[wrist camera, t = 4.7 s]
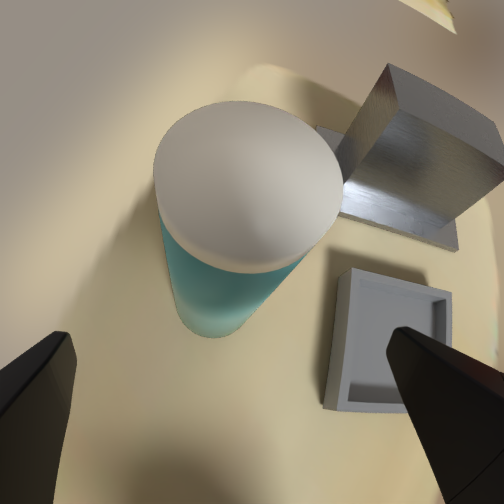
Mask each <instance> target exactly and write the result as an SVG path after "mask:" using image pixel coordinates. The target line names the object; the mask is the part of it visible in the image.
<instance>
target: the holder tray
mask: <svg viewBox="0 0 504 504" xmlns="http://www.w3.org/2000/svg"><path fill="white" fill-rule="evenodd" d="M402 326H408V327H410V328H413V329H415V330H417V331H419V332H421V333H423V334H425V335H427V336H429V337H431V338H433V339H435V340H437V341H439V342H441V343H443V344H445V345H447V346H449V347H451V348H452V292H448V291H445V290H441V289H437V288H433V287H429V286H425V285H421V284H417V283H413V282H409V281H405V280H401V279H397V278H393V277H389V276H385V275H380V274H376V273H372V272H368V271H364V270H360V269H356V268H351V269H349V270H348V271H347V272H345V273H344V274H343V275H341V276H340V277H339V279H338V291H337V302H336V312H335V322H334V331H333V339H332V347H331V355H330V363H329V370H328V377H327V384H326V391H325V397H324V403H323V409H328V410H334V411H345V412H365V413H408V412H407V410H406V408H405V406H404V403H403V401H402V399H401V396H400V394H399V391H398V388H397V385H396V382H395V379H394V377H393V374H392V371H391V368H390V365H389V363H388V360H387V357H386V348H387V345H388V343H389V340H390V338H391V335H392V332H393V330H394V329H395V328H397V327H402Z"/></svg>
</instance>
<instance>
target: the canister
mask: <svg viewBox="0 0 504 504" xmlns="http://www.w3.org/2000/svg"><path fill="white" fill-rule="evenodd" d="M153 176H154V183H155V190H156V197H157V204H158V211H159V217H160V223H161V229H162V235H163V241H164V247H165V252H166V258H167V263H168V268H169V274H170V279H171V284H172V289H173V293H174V298H175V303H176V308H177V312H178V314H179V317H180V319H181V320H182V322H183V323H184V325H185V326H186V327H187V328H188V329H190V330H191V331H192V332H194V333H196V334H198V335H200V336H203V337H207V338H220V337H225V336H227V335H230V334H232V333H233V332H235V331H236V330H238V329H239V328H240V327H241V326H242V325H243V323H244V322H245V321H246V320H247V319H248V318H249V317H250V316H251V315H252V314H253V313H254V312H255V311H256V310H257V308H258V307H259V306H260V305H261V304H262V303H263V302H264V301H265V300H266V299H267V298H268V297H269V296H270V294H271V293H272V292H273V291H274V290H275V289H276V288H277V287H278V286H279V285H280V283H281V282H282V281H283V280H284V279H285V278H286V277H287V276H288V275H289V274H290V272H291V271H292V270H293V269H294V268H295V267H296V266H297V265H298V264H299V262H300V261H301V260H302V259H303V258H304V257H305V256H306V255H307V253H308V252H309V251H310V250H311V249H312V248H313V247H314V246H315V244H316V243H317V242H318V241H319V240H320V239H321V238H322V236H323V235H324V234H325V233H326V232H327V231H328V230H329V228H330V227H331V226H332V224H333V223H334V221H335V220H336V218H337V215H338V213H339V211H340V208H341V204H342V201H343V178H342V173H341V170H340V167H339V164H338V161H337V159H336V157H335V155H334V153H333V152H332V150H331V149H330V147H329V146H328V144H327V143H326V142H325V140H324V139H323V138H322V137H321V136H320V135H319V134H318V133H317V132H316V131H315V130H314V129H313V128H312V127H310V126H309V125H308V124H307V123H305V122H304V121H302V120H301V119H299V118H297V117H296V116H294V115H292V114H290V113H288V112H286V111H284V110H281V109H279V108H276V107H273V106H269V105H266V104H261V103H256V102H248V101H228V102H220V103H215V104H211V105H207V106H204V107H201V108H199V109H197V110H194V111H192V112H191V113H189V114H187V115H185V116H184V117H182V118H181V119H180V120H178V121H177V122H176V123H175V124H174V125H173V126H172V127H171V128H170V129H169V130H168V131H167V133H166V134H165V136H164V137H163V138H162V140H161V142H160V144H159V146H158V149H157V152H156V154H155V159H154V167H153Z"/></svg>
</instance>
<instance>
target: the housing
mask: <svg viewBox="0 0 504 504" xmlns="http://www.w3.org/2000/svg"><path fill="white" fill-rule="evenodd" d="M315 131H316V132H317V133H318V134H319V135H320V136H321V137H322V138H323V139H324V140H325V142H326V143H327V144H328V146H329V147H330V149H331V150H332V152H333V153H334V155H335V157H336V159H337V161H338V164H339V167H340V170H341V173H342V178H343V201H342V204H341V208H340V211H339V213H338V215H337V216H341V217H344V218H348V219H351V220H354V221H358V222H361V223H365V224H368V225H371V226H374V227H378V228H381V229H384V230H387V231H391V232H394V233H397V234H400V235H403V236H406V237H410V238H413V239H416V240H419V241H422V242H425V243H428V244H431V245H434V246H437V247H440V248H443V249H446V250H449V251H451V252H454V253H455V252H456V251H458V250H459V247H458V239H457V231H456V223H455V218H456V217H458V216H459V215H460V214H462V213H463V212H464V211H466V210H467V209H468V208H469V207H471V206H472V205H473V204H475V203H476V202H477V201H479V200H480V199H481V198H482V197H484V196H485V195H486V194H488V193H489V192H490V191H491V190H493V189H494V188H495V187H496V186H498V185H499V184H500V183H501V182H503V181H504V145H503V142H502V140H501V137H500V135H499V132H498V130H497V128H496V125H495V123H494V122H493V121H491V120H490V119H488V118H487V117H486V116H484V115H483V114H481V113H479V112H478V111H476V110H475V109H473V108H472V107H470V106H469V105H467V104H465V103H464V102H462V101H460V100H459V99H457V98H455V97H454V96H452V95H450V94H448V93H447V92H445V91H443V90H441V89H440V88H438V87H436V86H434V85H432V84H430V83H429V82H427V81H425V80H423V79H421V78H419V77H417V76H415V75H413V74H411V73H409V72H407V71H404V70H403V69H400V68H398V67H396V66H394V65H392V64H390V63H388V64H387V65H386V67H385V69H384V70H383V72H382V74H381V75H380V77H379V79H378V81H377V82H376V84H375V85H374V87H373V89H372V91H371V92H370V94H369V96H368V97H367V99H366V101H365V102H364V104H363V106H362V107H361V109H360V111H359V112H358V114H357V116H356V117H355V119H354V121H353V122H352V124H351V126H350V127H349V129H348V131H347V132H346V134H342V133H339V132H336V131H333V130H330V129H327V128H324V127H320V126H316V128H315Z"/></svg>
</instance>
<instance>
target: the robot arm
mask: <svg viewBox="0 0 504 504" xmlns="http://www.w3.org/2000/svg"><path fill="white" fill-rule="evenodd" d="M386 357H387V360H388V363H389V365H390V368H391V371H392V374H393V377H394V379H395V382H396V385H397V388H398V391H399V394H400V396H401V399H402V401H403V403H404V406H405V408H406V410H407V412H408V414H409V417H410V419H411V421H412V423H413V426H414V428H415V430H416V432H417V435H418V437H419V439H420V442H421V444H422V446H423V449H424V451H425V454H426V456H427V458H428V461H429V463H430V466H431V468H432V471H433V473H434V476H435V478H436V481H437V483H438V486H439V488H440V491H441V493H442V496H443V499H444V501H445V504H504V373H502V372H499V371H498V370H496V369H494V368H492V367H490V366H488V365H486V364H484V363H482V362H480V361H478V360H476V359H474V358H472V357H469V356H467V355H465V354H463V353H461V352H459V351H457V350H455V349H453V348H451V347H449V346H447V345H445V344H443V343H441V342H439V341H437V340H435V339H433V338H431V337H429V336H427V335H425V334H423V333H421V332H419V331H417V330H415V329H413V328H410V327H408V326H402V327H397V328H395V329H394V330H393V332H392V335H391V338H390V340H389V343H388V345H387V348H386ZM76 366H77V357H76V353H75V350H74V346H73V343H72V339H71V336H70V334H69V333H68V332H62V331H54V332H52V333H51V334H50V335H48V336H47V337H45V338H44V339H43V340H41V341H40V342H39V343H37V344H36V345H34V346H33V347H31V348H30V349H29V350H27V351H26V352H24V353H23V354H22V355H20V356H19V357H17V358H16V359H15V360H13V361H12V362H11V363H9V364H8V365H7V366H5V367H4V368H2V369H1V370H0V504H53V500H54V493H55V486H56V480H57V474H58V468H59V462H60V457H61V452H62V447H63V442H64V437H65V432H66V428H67V423H68V419H69V414H70V408H71V400H72V393H73V385H74V379H75V372H76Z"/></svg>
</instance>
